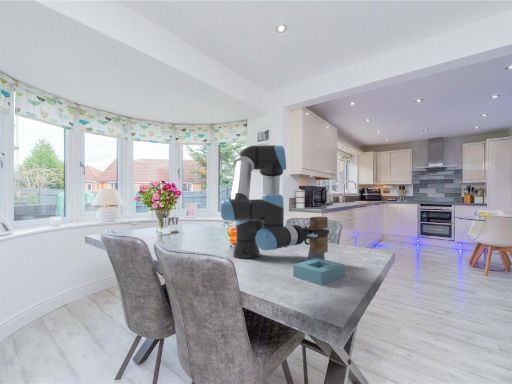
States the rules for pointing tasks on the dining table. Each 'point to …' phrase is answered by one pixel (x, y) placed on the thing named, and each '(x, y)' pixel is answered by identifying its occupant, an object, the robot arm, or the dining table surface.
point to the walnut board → (321, 243)
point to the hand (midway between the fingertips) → (326, 230)
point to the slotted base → (318, 271)
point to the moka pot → (311, 255)
